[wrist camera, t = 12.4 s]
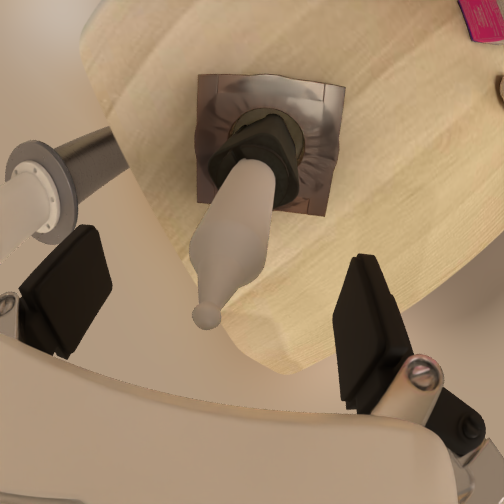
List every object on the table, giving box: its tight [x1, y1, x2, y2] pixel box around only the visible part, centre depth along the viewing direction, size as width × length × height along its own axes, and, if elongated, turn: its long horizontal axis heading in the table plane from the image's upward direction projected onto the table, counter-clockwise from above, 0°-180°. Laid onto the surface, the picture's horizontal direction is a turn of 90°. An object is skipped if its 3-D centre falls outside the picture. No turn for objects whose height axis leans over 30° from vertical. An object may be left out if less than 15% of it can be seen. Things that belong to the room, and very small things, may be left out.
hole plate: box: [195, 74, 346, 217], centre depth 27 cm, size 14×14×2 cm
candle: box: [189, 114, 299, 330], centre depth 18 cm, size 5×5×25 cm
